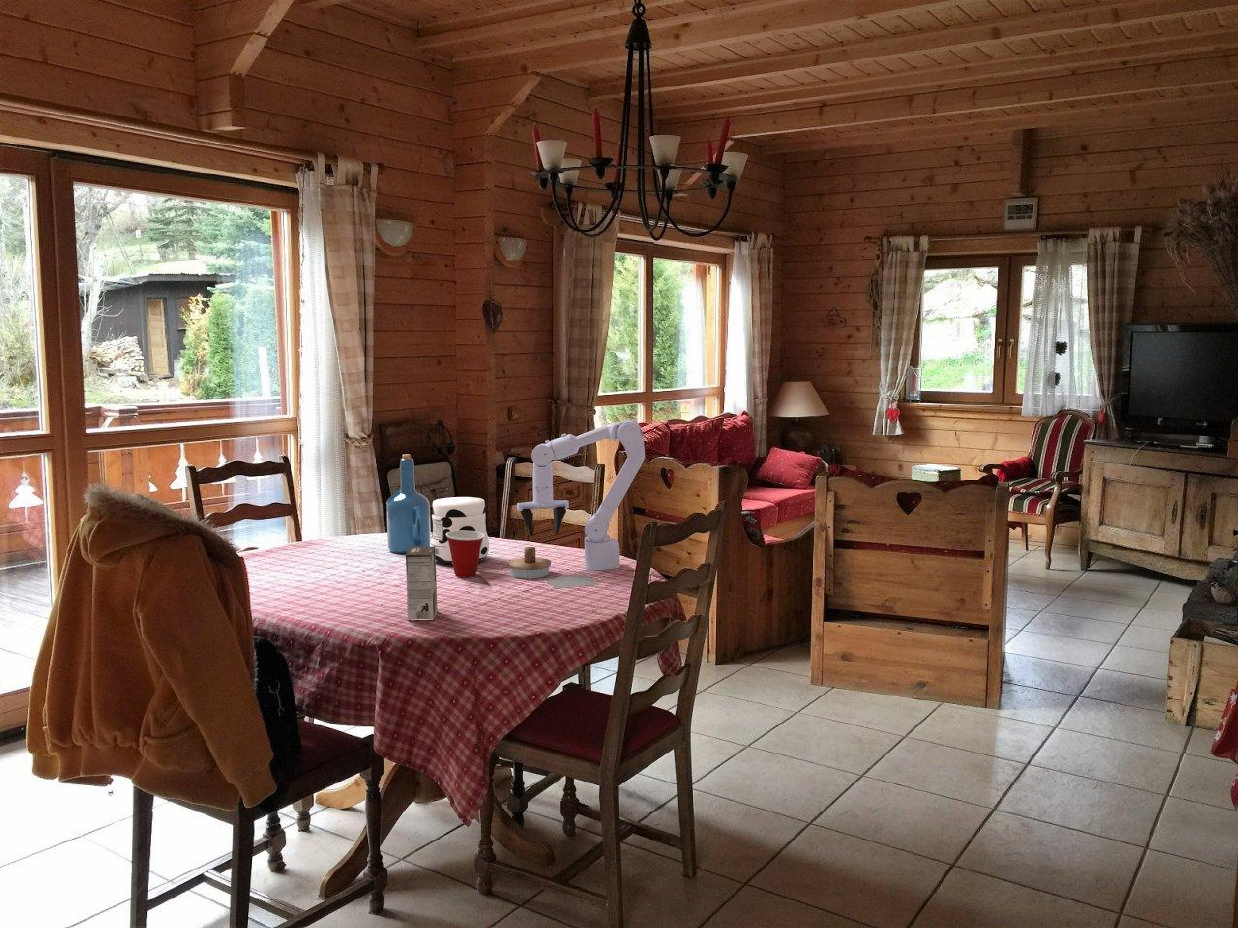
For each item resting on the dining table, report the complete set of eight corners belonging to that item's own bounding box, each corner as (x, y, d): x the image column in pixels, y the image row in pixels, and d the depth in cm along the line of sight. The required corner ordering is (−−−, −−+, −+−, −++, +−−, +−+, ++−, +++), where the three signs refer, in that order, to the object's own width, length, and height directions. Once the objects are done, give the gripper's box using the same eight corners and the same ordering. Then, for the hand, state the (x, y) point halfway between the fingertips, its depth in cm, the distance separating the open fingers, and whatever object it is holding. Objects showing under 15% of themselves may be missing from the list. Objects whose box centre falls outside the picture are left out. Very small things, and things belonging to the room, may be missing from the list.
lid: (543, 558, 289) (542, 542, 289) (557, 567, 279) (556, 550, 278) (503, 562, 285) (503, 545, 284) (516, 571, 274) (516, 553, 274)
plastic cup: (478, 580, 279) (477, 537, 277) (440, 579, 281) (439, 536, 279) (491, 571, 289) (490, 530, 288) (455, 570, 292) (453, 528, 290)
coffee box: (411, 611, 249) (409, 546, 247) (438, 610, 249) (436, 545, 247) (407, 621, 240) (404, 554, 238) (434, 620, 240) (432, 553, 238)
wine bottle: (437, 546, 324) (435, 452, 320) (420, 555, 311) (417, 457, 307) (398, 544, 327) (394, 451, 323) (379, 553, 314) (375, 456, 310)
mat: (585, 577, 281) (585, 574, 281) (599, 587, 270) (599, 584, 270) (543, 581, 277) (543, 578, 277) (555, 592, 266) (555, 588, 266)
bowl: (542, 571, 289) (542, 559, 288) (552, 579, 280) (552, 566, 279) (507, 574, 286) (507, 562, 285) (516, 582, 276) (516, 570, 276)
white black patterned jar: (496, 555, 310) (495, 497, 308) (479, 568, 294) (477, 506, 291) (442, 553, 314) (440, 495, 311) (421, 566, 297) (420, 505, 294)
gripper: (521, 490, 281) (522, 538, 283) (571, 487, 286) (572, 535, 288) (515, 486, 288) (515, 533, 290) (564, 483, 293) (564, 530, 295)
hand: (543, 534), depth 289 cm, fingers open, 7 cm apart
